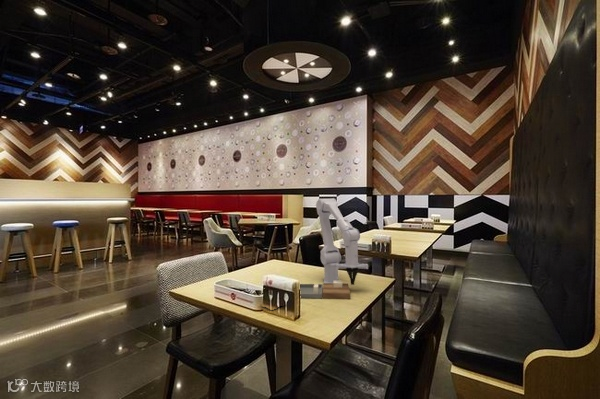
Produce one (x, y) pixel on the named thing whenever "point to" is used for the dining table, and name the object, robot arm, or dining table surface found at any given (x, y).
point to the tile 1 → (316, 289)
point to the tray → (310, 291)
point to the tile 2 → (337, 284)
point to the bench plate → (335, 291)
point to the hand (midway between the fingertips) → (352, 284)
